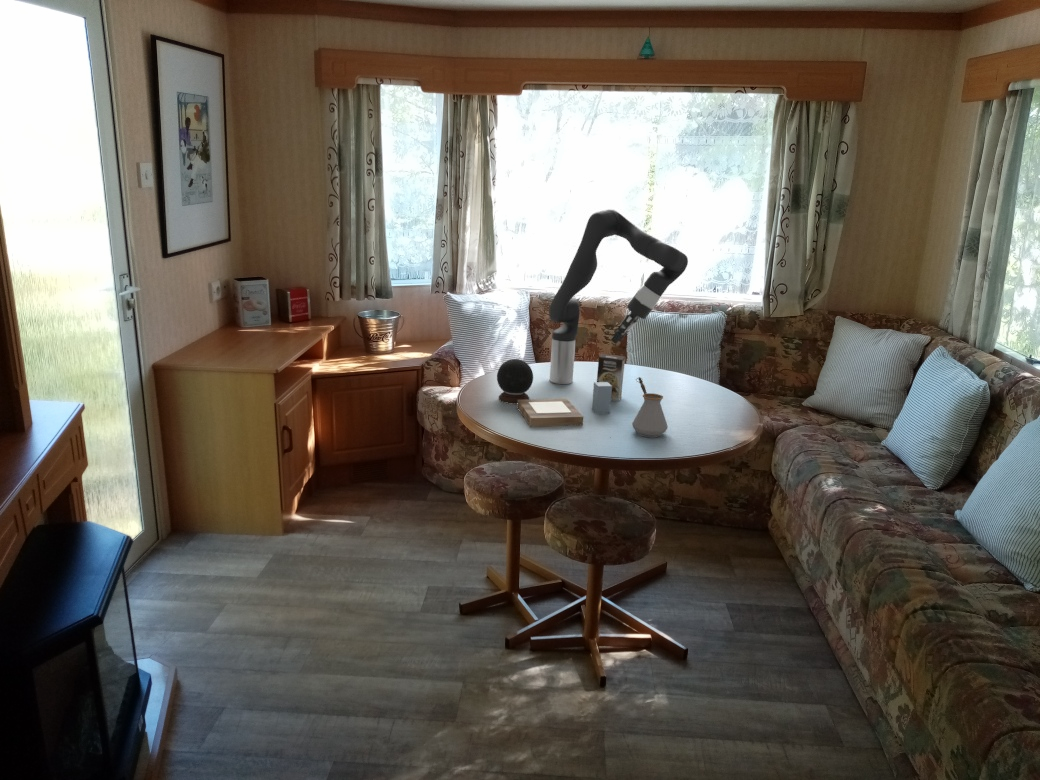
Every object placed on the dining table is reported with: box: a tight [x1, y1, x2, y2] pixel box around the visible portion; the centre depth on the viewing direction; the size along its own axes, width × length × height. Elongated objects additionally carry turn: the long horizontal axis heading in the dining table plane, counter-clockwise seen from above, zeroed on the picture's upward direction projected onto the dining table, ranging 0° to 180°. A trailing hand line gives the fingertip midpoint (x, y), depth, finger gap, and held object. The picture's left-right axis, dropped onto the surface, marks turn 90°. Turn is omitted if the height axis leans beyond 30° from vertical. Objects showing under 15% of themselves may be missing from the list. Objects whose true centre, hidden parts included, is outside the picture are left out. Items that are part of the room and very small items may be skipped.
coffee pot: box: [631, 376, 668, 438], centre depth 257 cm, size 21×12×15 cm, turn 9°
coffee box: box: [596, 353, 626, 402], centre depth 288 cm, size 9×6×16 cm
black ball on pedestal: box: [496, 358, 534, 404], centre depth 281 cm, size 13×13×15 cm
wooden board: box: [516, 398, 584, 427], centre depth 266 cm, size 20×18×3 cm
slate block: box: [591, 381, 612, 415], centre depth 273 cm, size 5×5×10 cm
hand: (615, 340), depth 262 cm, fingers open, 8 cm apart
